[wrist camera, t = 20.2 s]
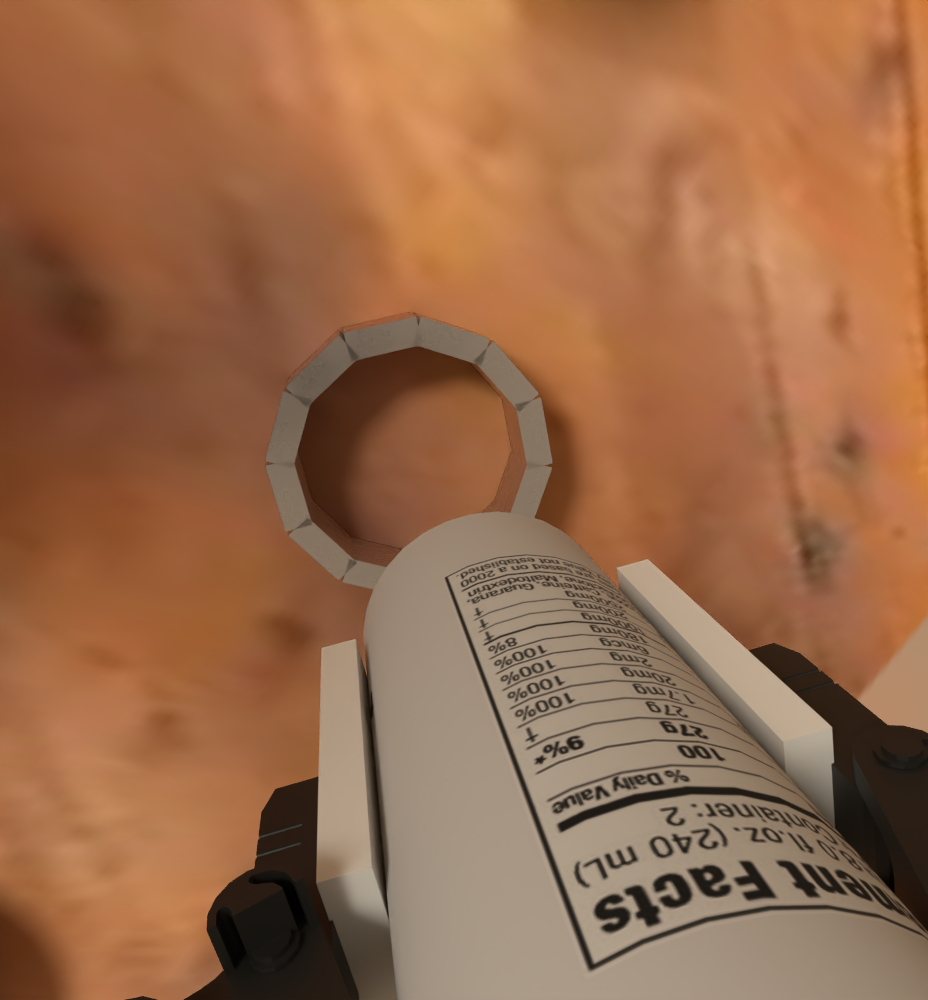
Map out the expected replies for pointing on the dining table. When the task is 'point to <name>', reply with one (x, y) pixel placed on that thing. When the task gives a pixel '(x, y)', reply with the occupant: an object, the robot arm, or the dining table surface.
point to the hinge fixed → (370, 339)
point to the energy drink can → (593, 801)
